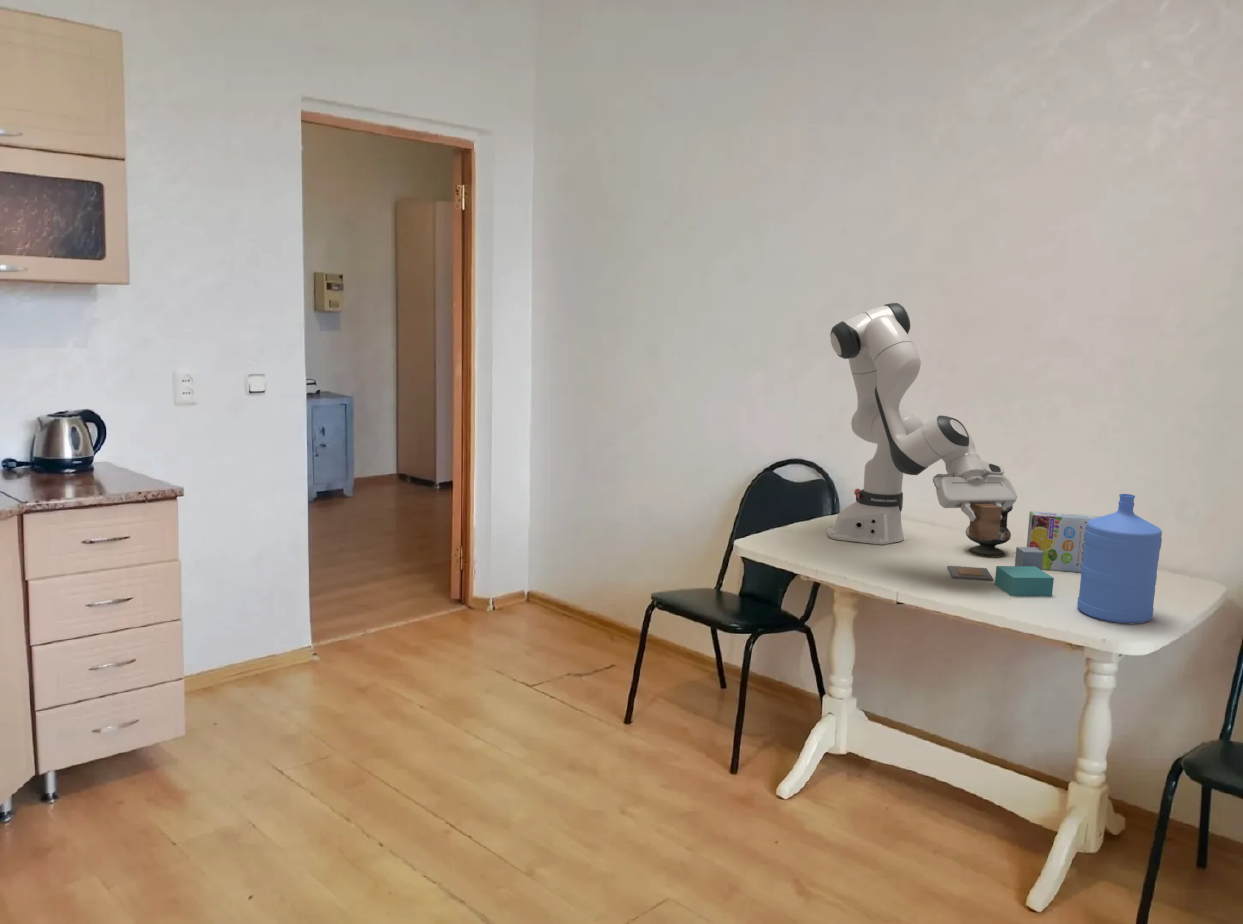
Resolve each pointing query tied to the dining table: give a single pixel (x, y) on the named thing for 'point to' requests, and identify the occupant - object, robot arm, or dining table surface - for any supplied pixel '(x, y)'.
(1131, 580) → the water jug
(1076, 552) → the snack box
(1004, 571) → the teal base block
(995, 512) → the walnut block
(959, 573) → the card
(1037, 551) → the slate grey block
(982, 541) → the apothecary jar
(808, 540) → the dining table surface
